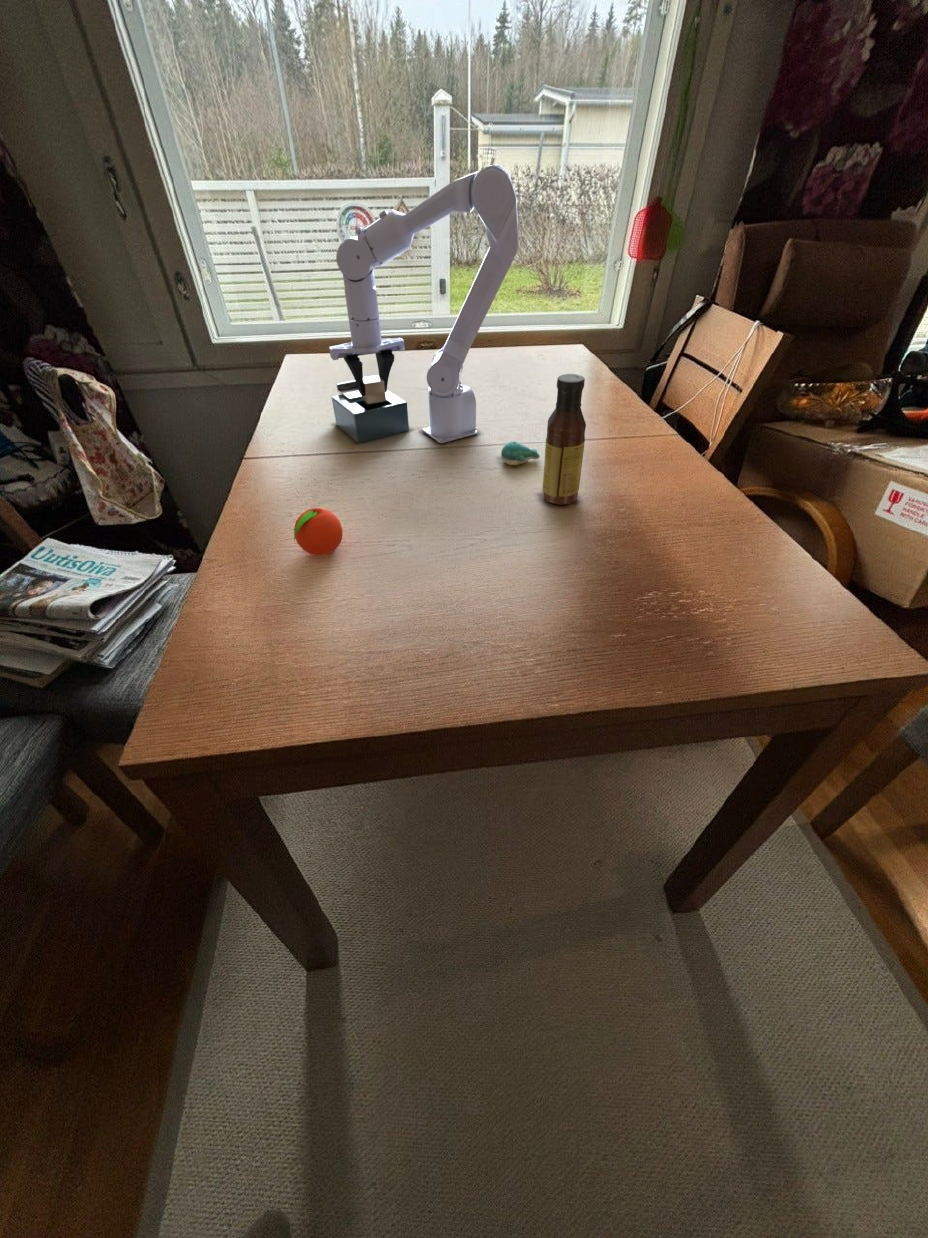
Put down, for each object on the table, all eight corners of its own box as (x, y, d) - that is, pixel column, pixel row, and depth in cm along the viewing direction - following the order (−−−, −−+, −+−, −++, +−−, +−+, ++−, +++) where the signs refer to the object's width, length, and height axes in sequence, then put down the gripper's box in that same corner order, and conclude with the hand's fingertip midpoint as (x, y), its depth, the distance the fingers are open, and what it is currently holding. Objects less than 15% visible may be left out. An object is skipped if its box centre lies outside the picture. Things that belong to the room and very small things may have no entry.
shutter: (369, 385, 113) (368, 377, 112) (382, 393, 109) (381, 385, 108) (337, 391, 110) (336, 383, 109) (349, 400, 106) (348, 392, 105)
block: (380, 394, 106) (377, 374, 104) (386, 401, 104) (384, 380, 101) (361, 397, 105) (359, 377, 102) (367, 404, 102) (364, 383, 100)
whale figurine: (498, 455, 100) (499, 436, 98) (534, 453, 101) (536, 434, 98) (503, 468, 96) (504, 449, 93) (541, 466, 97) (543, 447, 94)
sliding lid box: (384, 412, 117) (381, 385, 113) (409, 430, 109) (407, 402, 105) (336, 424, 112) (331, 396, 108) (358, 443, 105) (354, 414, 101)
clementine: (319, 574, 72) (308, 532, 67) (284, 559, 75) (272, 517, 70) (355, 547, 77) (348, 506, 72) (322, 533, 80) (313, 493, 75)
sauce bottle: (579, 492, 89) (600, 373, 76) (573, 509, 85) (593, 386, 71) (543, 486, 91) (557, 368, 77) (535, 503, 87) (548, 381, 73)
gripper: (331, 326, 89) (343, 404, 98) (407, 317, 94) (412, 393, 103) (321, 317, 94) (334, 393, 103) (394, 309, 98) (401, 382, 108)
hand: (373, 392), depth 103 cm, fingers closed on block, 4 cm apart
